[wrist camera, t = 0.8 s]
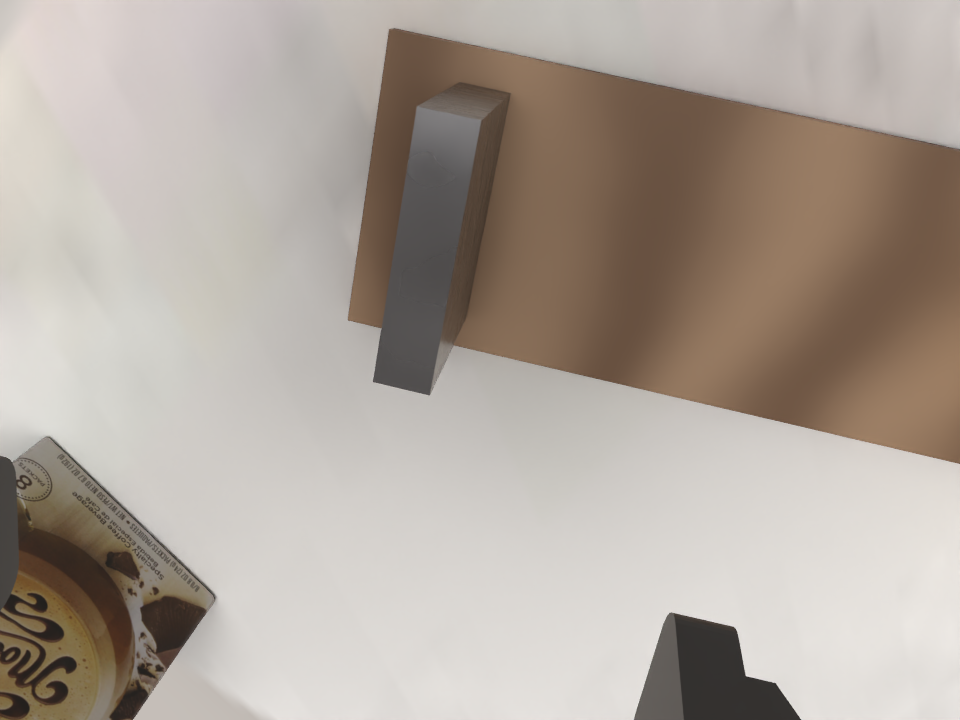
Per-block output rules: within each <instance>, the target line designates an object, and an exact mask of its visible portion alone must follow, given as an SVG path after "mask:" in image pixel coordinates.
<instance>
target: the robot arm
mask: <svg viewBox="0 0 960 720" xmlns="http://www.w3.org/2000/svg"><path fill="white" fill-rule="evenodd" d="M18 568H19V546H18V516H17V485H16V471H15V468H14V465H13V463H12V462H11V461H10V459H8V458H6V457H2V456H0V611H1V609H2V608H3V607H4V605H5V604H6V602H7V600H8V598H9V596H10V594H11V592H12V590H13V587H14V585H15V582H16V578H17V574H18ZM634 720H801V719H800V717H799V716H798V715H797V713H796V712H795V710H794V709H793V708H792V706H791V705H790V703H789V702H788V700H787V699H786V698H785V696H784V695H783V693H782V692H781V691H780V689H779V688H778V686H777V685H776V683H772V682H768V681H763V680H759V679H755V678H751V677H746V676H745V671H744V665H743V660H742V654H741V649H740V643H739V638H738V634H737V631H736V629H735V628H734V627H731V626H727V625H723V624H718V623H714V622H710V621H705V620H701V619H697V618H692V617H688V616H684V615H679V614H675V613H669V615H668V616H667V618H666V620H665V622H664V624H663V627H662V630H661V634H660V637H659V640H658V643H657V646H656V650H655V653H654V656H653V659H652V662H651V666H650V669H649V672H648V675H647V679H646V682H645V685H644V688H643V691H642V695H641V698H640V701H639V704H638V707H637V711H636V714H635V718H634Z"/></svg>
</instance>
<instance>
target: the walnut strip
mask: <svg viewBox="0 0 960 720" xmlns="http://www.w3.org/2000/svg"><path fill="white" fill-rule="evenodd" d="M348 320H349V321H353V322H357V323H362V324H366V325H370V326H374V327H379V328H382V329H381V335H380V341H379V348H378V354H377V360H376V367H375V373H374V379H373V382H376V383H380V384H384V385H389V386H393V387H397V388H401V389H405V390H410V391H414V392H418V393H422V394H426V395H430V394H431V392H432V389H433V387H434V385H435V383H436V381H437V379H438V377H439V375H440V373H441V370H442V368H443V366H444V364H445V362H446V360H447V358H448V356H449V354H450V351H451V349H452V347H453V345H455V346H460V347H464V348H468V349H473V350H477V351H481V352H485V353H490V354H494V355H498V356H502V357H507V358H511V359H515V360H519V361H524V362H528V363H532V364H537V365H541V366H545V367H549V368H554V369H558V370H562V371H566V372H571V373H575V374H579V375H583V376H588V377H592V378H596V379H601V380H605V381H609V382H613V383H618V384H622V385H626V386H630V387H635V388H639V389H643V390H647V391H652V392H656V393H660V394H665V395H669V396H673V397H677V398H682V399H686V400H690V401H694V402H699V403H703V404H707V405H711V406H716V407H720V408H724V409H729V410H733V411H737V412H741V413H746V414H750V415H754V416H758V417H763V418H767V419H771V420H775V421H780V422H784V423H788V424H793V425H797V426H801V427H805V428H810V429H814V430H818V431H822V432H827V433H831V434H835V435H839V436H844V437H848V438H852V439H857V440H861V441H865V442H869V443H874V444H878V445H882V446H886V447H891V448H895V449H899V450H903V451H908V452H912V453H916V454H921V455H925V456H929V457H933V458H938V459H942V460H946V461H950V462H955V463H959V464H960V150H959V149H954V148H949V147H945V146H940V145H935V144H931V143H926V142H921V141H917V140H912V139H907V138H903V137H898V136H893V135H889V134H884V133H879V132H875V131H870V130H865V129H861V128H856V127H851V126H847V125H842V124H837V123H833V122H828V121H823V120H819V119H814V118H809V117H805V116H800V115H796V114H791V113H786V112H782V111H777V110H772V109H768V108H763V107H758V106H754V105H749V104H744V103H740V102H735V101H730V100H726V99H721V98H716V97H712V96H707V95H702V94H698V93H693V92H688V91H684V90H679V89H674V88H670V87H665V86H660V85H656V84H651V83H646V82H642V81H637V80H632V79H628V78H623V77H618V76H614V75H609V74H604V73H600V72H595V71H590V70H586V69H581V68H576V67H572V66H567V65H562V64H558V63H553V62H548V61H544V60H539V59H534V58H530V57H525V56H520V55H516V54H511V53H506V52H502V51H497V50H492V49H488V48H483V47H478V46H474V45H469V44H464V43H460V42H455V41H450V40H446V39H441V38H436V37H432V36H427V35H422V34H418V33H413V32H408V31H404V30H399V29H389V35H388V42H387V49H386V56H385V63H384V70H383V77H382V84H381V91H380V98H379V105H378V112H377V119H376V126H375V133H374V140H373V147H372V154H371V161H370V168H369V175H368V182H367V189H366V196H365V203H364V210H363V217H362V224H361V231H360V238H359V245H358V252H357V259H356V266H355V273H354V280H353V287H352V294H351V301H350V308H349V315H348Z"/></svg>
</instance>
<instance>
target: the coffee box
mask: <svg viewBox="0 0 960 720" xmlns="http://www.w3.org/2000/svg"><path fill="white" fill-rule="evenodd" d="M12 463H13V465H14V468H15V471H16V485H17V516H18V546H19V568H18V574H17V578H16V582H15V585H14V587H13V590H12V592H11V594H10V596H9V598H8V600H7V602H6V604H5V605H4V607H3V608H2V609H1V611H0V720H133V719H134V717H135V716H136V715H137V713H138V711H139V710H140V708H141V707H142V706H143V704H144V703H145V701H146V700H147V698H148V697H149V695H150V694H151V693H152V691H153V690H154V688H155V687H156V685H157V684H158V682H159V681H160V680H161V678H162V677H163V675H164V674H165V672H166V671H167V669H168V667H169V666H170V665H171V663H172V662H173V660H174V659H175V658H176V656H177V654H178V653H179V651H180V650H181V648H182V647H183V646H184V644H185V643H186V641H187V640H188V638H189V637H190V636H191V634H192V633H193V631H194V630H195V628H196V627H197V625H198V624H199V622H200V621H201V620H202V618H203V617H204V616H205V614H206V613H207V611H208V610H209V609H210V607H211V606H212V605H213V603H214V596H213V595H212V594H211V593H210V592H209V591H208V590H207V589H206V588H205V587H204V586H203V585H202V584H201V583H200V582H199V581H198V580H196V579H195V578H194V577H193V576H192V575H191V574H190V573H189V572H188V571H187V570H186V569H185V568H184V567H183V566H182V565H181V564H180V563H179V562H177V561H176V560H175V559H174V558H173V557H172V556H171V555H170V554H169V553H168V552H167V551H166V550H165V549H164V548H163V547H162V546H161V545H160V544H159V543H158V542H157V541H156V540H155V539H154V538H153V537H152V536H151V535H150V534H149V533H148V532H147V531H145V530H144V529H143V528H142V527H141V526H140V525H139V524H138V523H137V522H136V521H135V520H134V519H133V518H132V517H131V516H130V515H129V514H128V513H127V512H126V511H125V510H124V509H122V508H121V507H120V506H119V505H118V504H117V503H116V502H115V501H114V500H113V499H112V498H111V497H110V496H109V495H108V494H107V493H106V492H105V491H104V490H103V489H102V488H101V487H100V486H99V485H98V484H97V483H96V482H95V481H94V480H92V479H91V478H90V477H89V476H88V475H87V474H86V473H85V472H84V471H83V470H82V469H81V468H80V467H79V466H78V465H77V464H76V463H75V462H74V461H73V460H72V459H71V458H70V457H69V456H68V455H67V454H66V453H65V452H64V451H63V450H61V449H60V448H59V447H58V446H57V445H56V444H55V443H54V442H53V441H52V440H51V439H50V438H48V437H45V438H43V439H42V440H41V441H39V442H38V443H37V444H35V445H34V446H33V447H31V448H30V449H29V450H28V451H26V452H25V453H24V454H22V455H21V456H20V457H19V458H17V459H16V460H15V461H14V462H12Z"/></svg>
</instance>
